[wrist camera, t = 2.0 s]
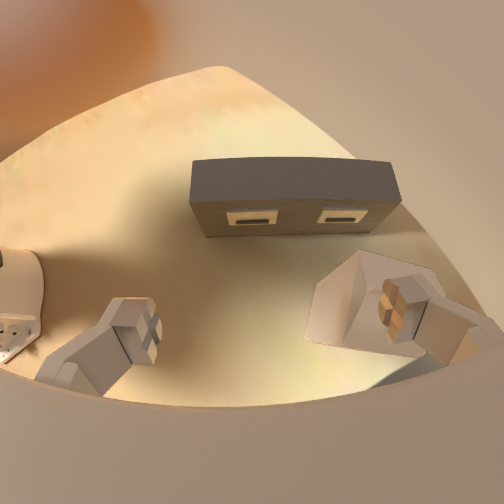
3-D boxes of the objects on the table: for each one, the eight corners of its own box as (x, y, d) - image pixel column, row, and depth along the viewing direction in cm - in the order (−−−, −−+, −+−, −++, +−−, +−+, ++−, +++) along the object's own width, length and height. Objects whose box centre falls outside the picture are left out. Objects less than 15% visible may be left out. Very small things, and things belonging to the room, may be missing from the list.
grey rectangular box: (206, 240, 35) (189, 207, 25) (207, 202, 36) (192, 160, 27) (369, 236, 35) (402, 204, 25) (362, 200, 36) (390, 162, 27)
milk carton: (315, 284, 33) (380, 229, 15) (366, 295, 33) (463, 256, 14) (302, 340, 31) (363, 350, 13) (355, 349, 31) (454, 360, 12)
